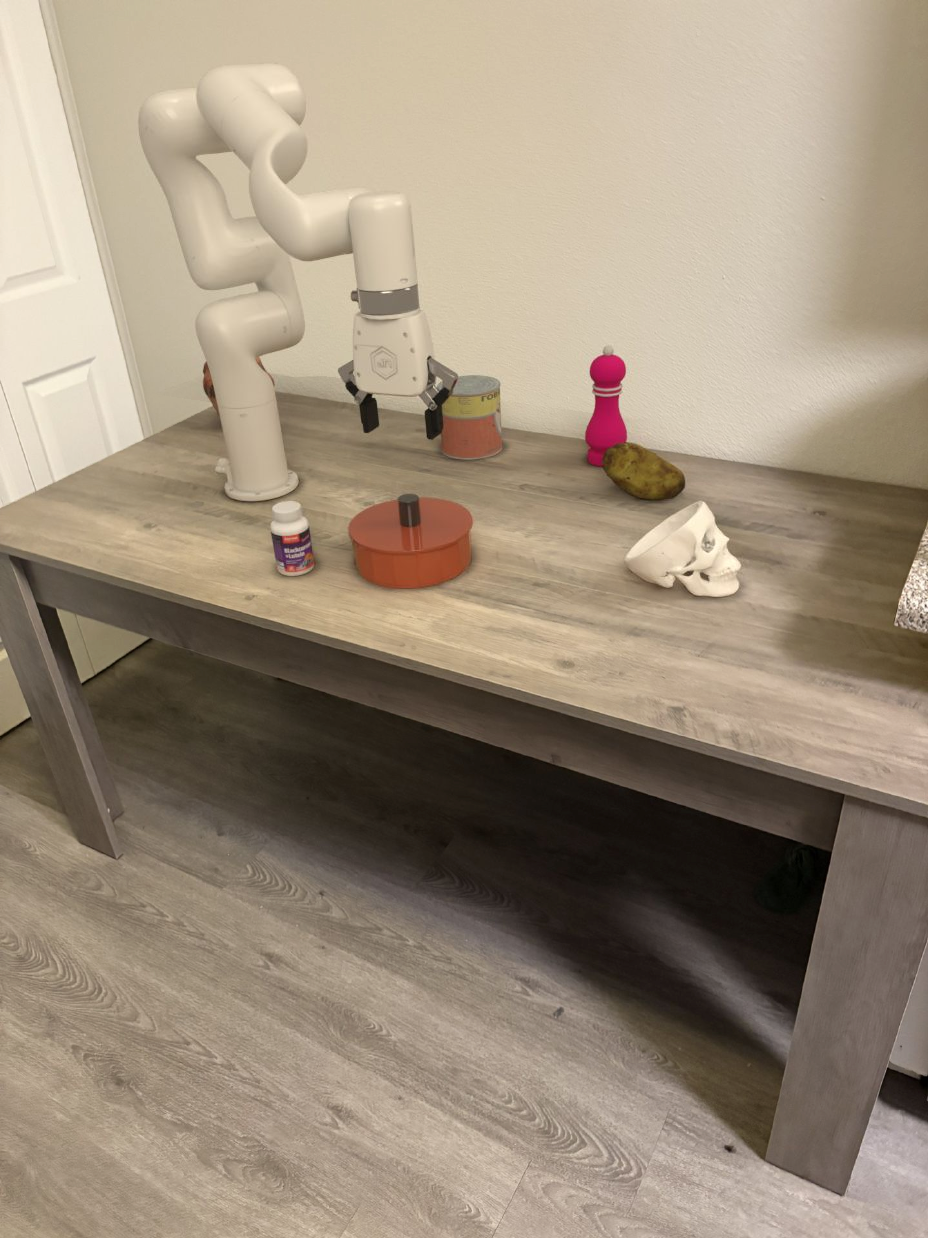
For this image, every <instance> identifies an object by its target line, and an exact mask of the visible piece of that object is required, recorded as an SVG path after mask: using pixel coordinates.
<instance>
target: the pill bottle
mask: <svg viewBox="0 0 928 1238" xmlns="http://www.w3.org/2000/svg"><path fill="white" fill-rule="evenodd" d="M271 510H272V517H273V520H272V521H271V523H270V524H269V525H270V527H269V529H270V535H271V542H272V546H273V553H274V558H275V564H276V569H277V572H279V573H280V574H281V575H283V576H288V577H297V576H298V577H299V576H302V575H305V574H307V573H308V574H309V572H311V571H312V570H313V569H314V568H315V557H314V550H313V544H312V537H311V529H310V523H309V520H308V519H307V518H306V517H305V516H303V511H302V505H301V504H300V503H299V502H298V501H294V500H287V501H280V502H278V503H277V502H276V503H275V504H274V505H272V507H271Z"/></svg>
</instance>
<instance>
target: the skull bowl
mask: <svg viewBox="0 0 928 1238" xmlns="http://www.w3.org/2000/svg"><path fill="white" fill-rule="evenodd" d="M729 540H730V538H729V537H728V536H726V535H725V533H724V532H722V531H721V530H720V529H719V528H718V526H717V524H716V517H715V515H714V513H713V512H712V511H711V508H710V507H709V505H708V504H707V503H706V502H705V501H703V500H698V501H695V502H693V503H692V504H689V505H688V506H686V507H684V508H682V509H680V510H678V511H676V512H675V513H673V514H672V515H669V516H668V517H667V518H666V519H664V520H662V521H661V522H660V523H658V524H657V525H656V526H654V527H653V528H652V529H651V530H649V531H648V532H647V533H646V534H644V535H643V536H642V537H640V539H639V540H637V541H636V542H635V543H634V544H633V545H632V546H631V547H630V548H629V550H628V551H627V552H626V554H625V556H624V557H623V562H624V564H625V566H627V568H628V569H629V570H630V572H631V573H633V574H635V575H636V576H638V577H639V578H640V579H642V580H643V581H646V582H647V583H651V584H656V585H658V586H660V587H663V588H667V589H670V588H673V587H674V583H675V581H676V580H677V579H678V580H679V581H680V582H681V583H682V584H683V585H684V586H685V588H686V589H687V591H688V592H689V593H691V594H692V595H694V596H698V597H711V598H723V597H728V596H732V595H734V594H736V592H738V590H739V588H740V582H739V580H738V578H737V575H738V573H739V571H740V570H741V568H742V564H741V562H740V561H739V560H738V558H737V557H736V556H734V555H732V553H731V552H730V551H729V549H728V542H729ZM689 571H693V573H692V574H691V575H689V576H687V575H684V574H685V573H687V572H689ZM701 574H704V575H706V576H707V577H708V580H706V579H704V578H702V577H701Z"/></svg>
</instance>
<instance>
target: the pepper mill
mask: <svg viewBox="0 0 928 1238" xmlns="http://www.w3.org/2000/svg"><path fill="white" fill-rule="evenodd" d="M614 351H615V350H614V347H613V346H612V345H608V344H607V345H606V346H604V347H603V348H602V354H601V355H599V356H597V357H595V358H594V359H593V360H592V362H591V363H590V366H589V377H590V379H591V381H592V382H593V384H592V385H591V388H592V391H591V393H592V394H593V395H594V408H593V413H592V415H591V418H590V420H589V422H587V423H588V424H587V425H586V430H585V433H584V441H585V443H586V445H587V446H588V447H589V448H588V450H587V456H586V457H587V462H588V463H589V464H591V465H593V466H596V467H603V464H602V457H603V455H604V453H605V452H606V451H607V450H608V449H609V448H610V447H612V446H614V445H616V444H617V443H624V442H627V440H628V431H627V427H626V424H625V421H624V419H623V417H622V414H621V411H620V395H621V394H622V393H623V384H622V381H623V380H624V379H625V377H626V374H627V366H626V363H625V361H624V359H622V357H620V356H619V355H616V354H614V353H615V352H614Z"/></svg>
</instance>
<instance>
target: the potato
mask: <svg viewBox="0 0 928 1238" xmlns="http://www.w3.org/2000/svg"><path fill="white" fill-rule="evenodd" d="M602 464H603V471H604V473H605V474H606V476H607V477H608V478H609V479H610V480H611V481H612V482H613V484H615V485H616V486H617V487H619V488H622V489H623V490H625V491H626V492H627V493H629V494H630V495H632V496H634V497H636V498H638V499H644V500H666V499H669V498H674V497H676V496H678V495H679V494H681V493H682V492H683V491H684V490H685V488H686V477H685V474H684V473H683V471H682V470H681V469H679V468H678V467H677V466H675V465H674V464H673V463H671V462H669V461H668V460H666V459H664V458H662V457H660V456H659V455H657V454H656V453H654V452H652V451H650V450H649V449H647V448H645V447H644V446H642V445H640V444H638V443H636V442H635V443H634V442H627V441H626V442H624V443H617V444H616V445H614V446H612V447H610V448H609V449H608V450H607V451H606V452H605V453H604V455H603V457H602Z"/></svg>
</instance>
